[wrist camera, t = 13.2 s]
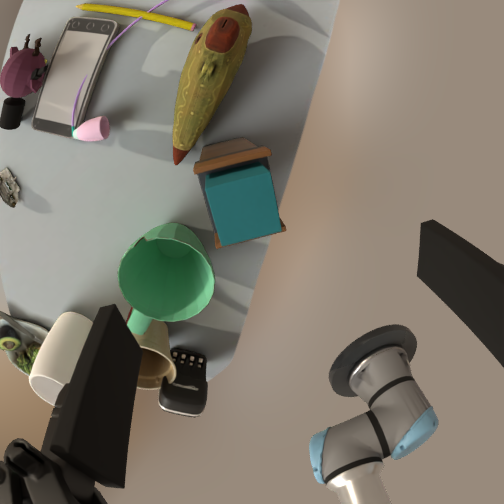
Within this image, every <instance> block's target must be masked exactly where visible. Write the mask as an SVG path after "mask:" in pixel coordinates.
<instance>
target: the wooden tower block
mask: <svg viewBox="0 0 504 504" xmlns="http://www.w3.org/2000/svg"><path fill="white" fill-rule="evenodd" d="M253 147H257V146H256V145H254V144H253V143H251V142H250V141H248V140H246V139H245V138H243V137H241V138H237V139H232V140H228V141H224V142H220V143H216V144H212V145H209V146H205V147H202V152H201V156H200V161H201V160H205V159H208V158H212V157H216V156H220V155H224V154H228V153H232V152H236V151H240V150H244V149H249V148H253Z"/></svg>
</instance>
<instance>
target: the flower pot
mask: <svg viewBox="0 0 504 504" xmlns="http://www.w3.org/2000/svg"><path fill="white" fill-rule="evenodd" d="M132 334H133V336H134V337H135V339H136V341H137V342H138V344H139V345H140V347H141V349H142V350H143V355H142V360H141V365H140V371H139V376H138V382H137V388H139V389H146V390H156V389H160V388H161V383H162V379H163V377H164V376H166V377H167V380H168V383H170V384H171V383H172V382H173V381H174V380H175V378H176V366H175V364H174V362H173V360H172V357H171V355H170V346H169V337H168V328H167V325H166V324H165V323H164V322H163V321H158V320H155V319H153V320H152V321H151V323H150V325H149V327H148V329H147V330H146V332H145V334H144V335H138V334H135V333H133V332H132Z"/></svg>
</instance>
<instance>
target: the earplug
mask: <svg viewBox="0 0 504 504" xmlns="http://www.w3.org/2000/svg"><path fill="white" fill-rule="evenodd" d="M167 1H168V0H164V1H163V2H161V3H159V4H158V5H156V6H155V7H153V8H152V9H150V10H149V11H147V12H151V11H153V10H154V9H156V8H157V7H159V6H160V5H162V4H163V3H165V2H167ZM141 18H142V16H141V17H139V18H138V19H136V20H135V21H134V22H133V23H132V24H130V25H129V26H128V27H127V28H126V29H124V30H123V31H122V32H121V33H120V34H119V35H118V36H117V37H116V38H115V39H114V40H113V41H112V42H111V43H110V44H109V45H108V47H107V49H108V48H109V47H110V46H111V45H112V44H113V43H114V42H115V41H116V40H117V39H118V38H119V37H120V36H121V35H122V34H123V33H124V32H126V31H127V30H128V29H129V28H130V27H131V26H133V25H134V24H135V23H136V22H138V21H139V20H140V19H141ZM86 77H87V75H86V76H85V78H84V80H83V82H82V84H81V86H80V88H79V90H78V93H77V96H76V99H75V102H74V107H73V112H72V137H74V139H79V140H83V141H98V140H103V139H107V138H108V136H109V132H110V126H109V121H108V119H107V117H106V116H100V117H96V118H93V119H90V120H88V121H86V122H84V123H83V124H82V125H80V126H79V127H78V128H77V129H75V130H74V115H75V109H76V104H77V100H78V97H79V94H80V91H81V89H82V86H83V84H84V81H85V79H86Z"/></svg>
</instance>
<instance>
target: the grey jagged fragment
mask: <svg viewBox="0 0 504 504" xmlns="http://www.w3.org/2000/svg"><path fill="white" fill-rule="evenodd" d="M0 178H1V179H0V196H1V197H2V199H3V201H4V202H5V203H7V205H9V206H10V207H13V208H14V207H15V205H16V203H17V202H18V196H17V195H18V192H19V190H20V188H19V187H18V185H17V184H16V182H15V179H16V177H15V178H13V176H12V174H11V173H10V171H9V170H8V168H5V169H4V170H3V171H1V172H0ZM5 180H6V181H7V182H6V181H5ZM5 182H6V183H7V185H8V186H9V189H10V190H9V189H8V187H6V185H5ZM11 190H13V191H11ZM11 196H12V197H11ZM12 198H13V199H14V200H13V199H12Z"/></svg>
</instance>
